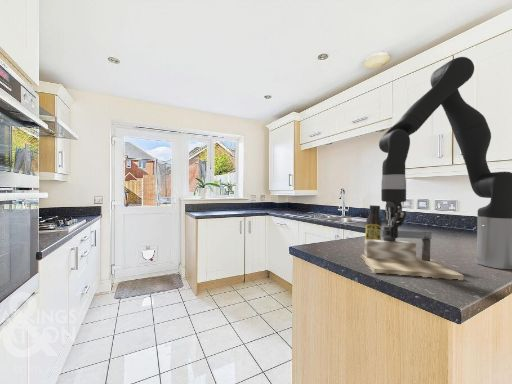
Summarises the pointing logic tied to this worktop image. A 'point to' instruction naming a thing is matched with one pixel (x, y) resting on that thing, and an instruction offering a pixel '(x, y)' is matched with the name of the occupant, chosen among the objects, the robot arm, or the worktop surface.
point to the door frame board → (412, 268)
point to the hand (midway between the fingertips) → (393, 237)
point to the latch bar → (409, 234)
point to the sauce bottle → (373, 224)
